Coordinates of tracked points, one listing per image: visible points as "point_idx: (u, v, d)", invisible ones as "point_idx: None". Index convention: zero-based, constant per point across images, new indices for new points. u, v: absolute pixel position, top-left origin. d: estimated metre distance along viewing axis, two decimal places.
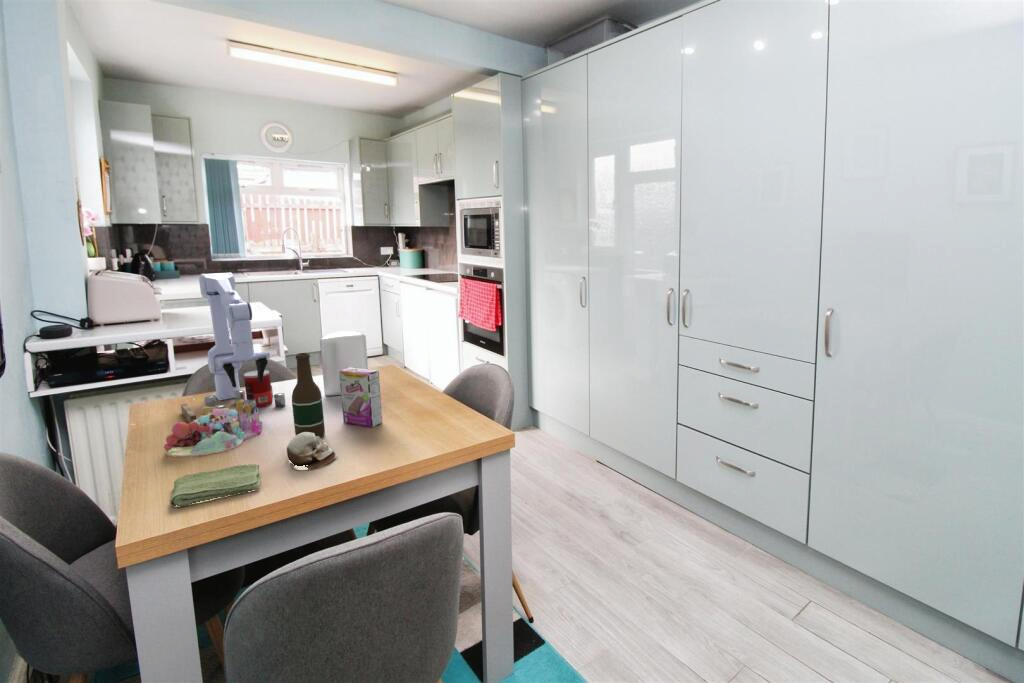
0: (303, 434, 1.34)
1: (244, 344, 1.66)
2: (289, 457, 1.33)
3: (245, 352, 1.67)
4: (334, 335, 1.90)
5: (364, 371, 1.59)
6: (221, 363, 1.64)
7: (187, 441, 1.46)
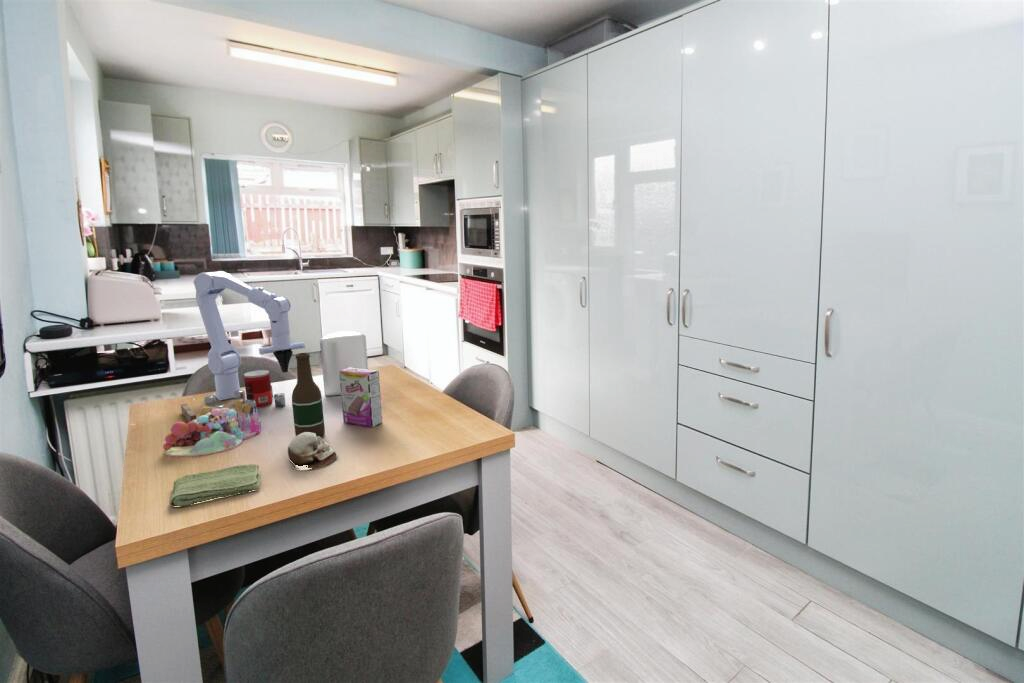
0: (304, 434, 1.34)
1: (282, 335, 1.83)
2: (290, 457, 1.33)
3: (283, 342, 1.83)
4: (334, 335, 1.90)
5: (364, 371, 1.59)
6: (262, 352, 1.81)
7: (186, 441, 1.46)
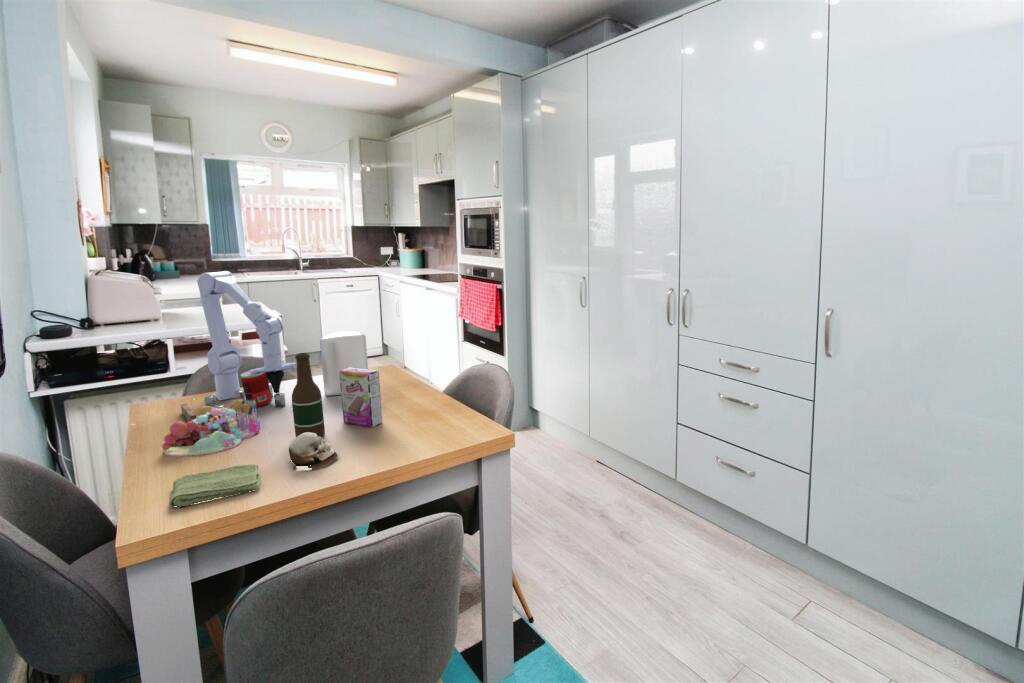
0: (305, 434, 1.33)
1: (274, 356, 1.82)
2: (291, 457, 1.32)
3: (274, 363, 1.82)
4: (334, 335, 1.90)
5: (364, 371, 1.59)
6: (253, 373, 1.80)
7: (185, 440, 1.47)
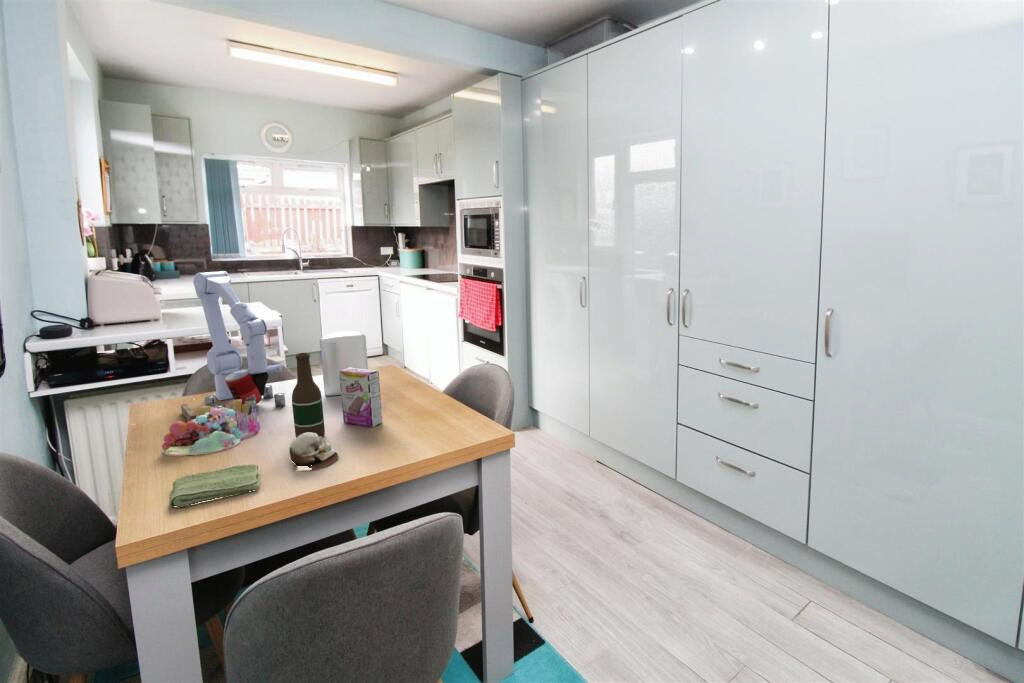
0: (306, 434, 1.33)
1: (258, 358, 1.79)
2: (291, 457, 1.32)
3: (259, 365, 1.79)
4: (334, 335, 1.90)
5: (364, 371, 1.59)
6: None
7: (185, 440, 1.47)
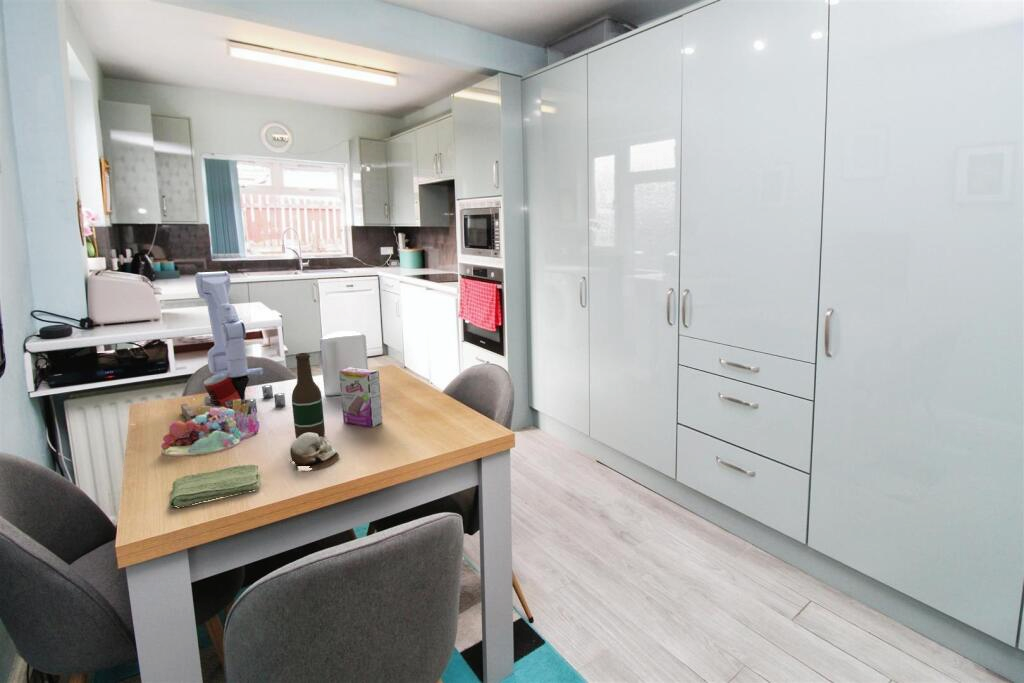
0: (307, 434, 1.33)
1: (238, 361, 1.75)
2: (292, 457, 1.32)
3: (239, 368, 1.75)
4: (334, 335, 1.90)
5: (364, 371, 1.59)
6: (216, 379, 1.73)
7: (184, 440, 1.47)
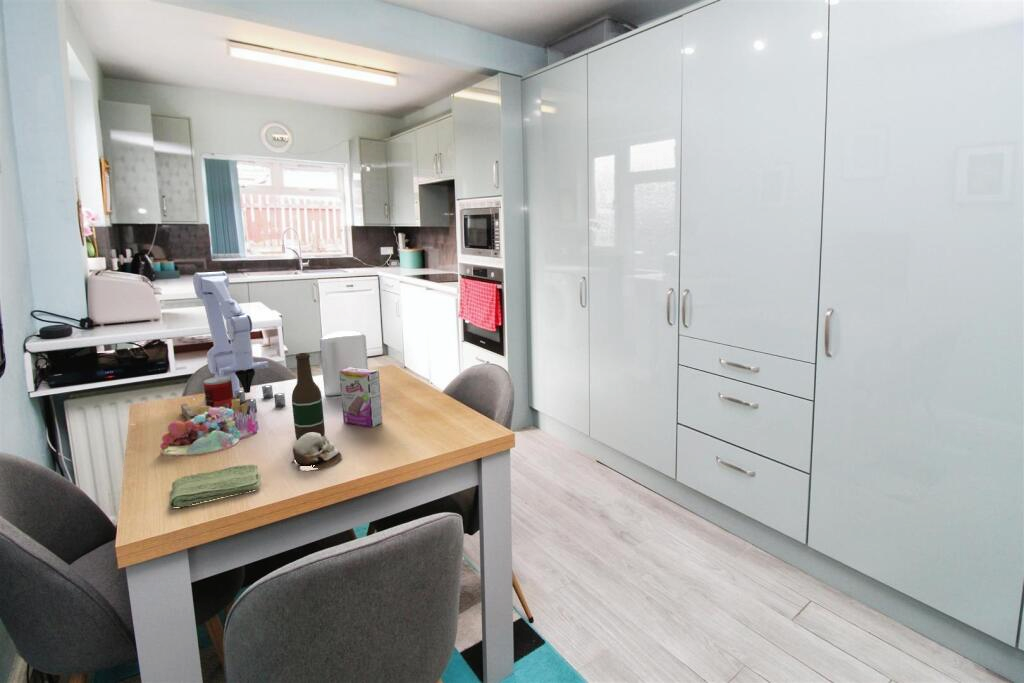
0: (309, 434, 1.33)
1: (244, 354, 1.76)
2: (295, 457, 1.32)
3: (244, 361, 1.76)
4: (334, 335, 1.90)
5: (364, 371, 1.59)
6: (222, 372, 1.74)
7: (183, 440, 1.47)
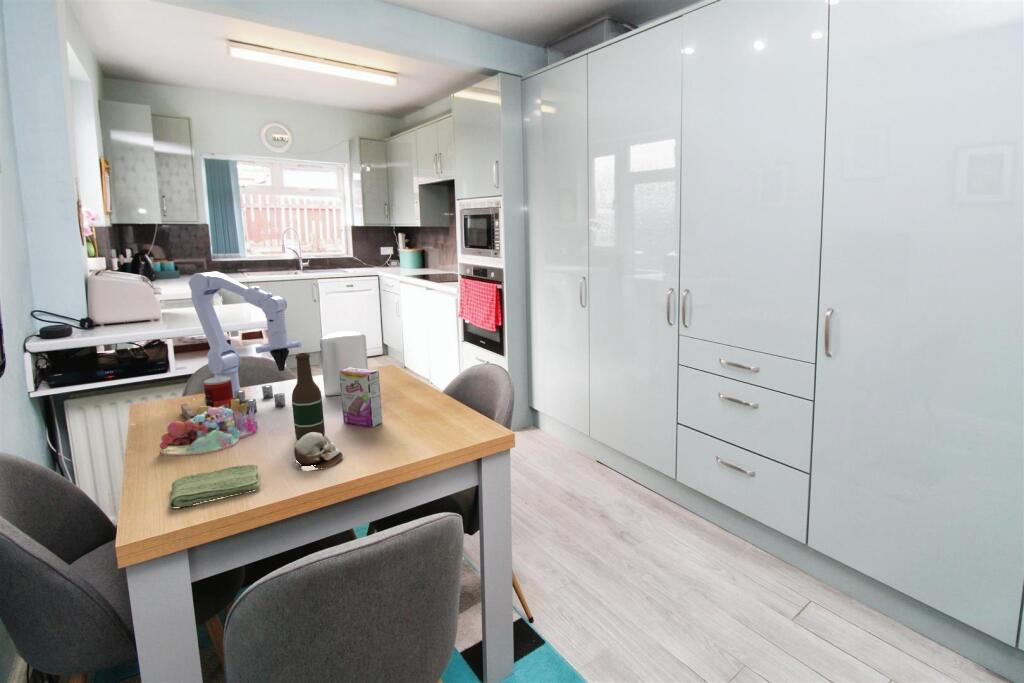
0: (311, 434, 1.33)
1: (279, 334, 1.84)
2: (296, 457, 1.32)
3: (279, 340, 1.84)
4: (334, 335, 1.90)
5: (364, 371, 1.59)
6: (259, 351, 1.82)
7: (183, 440, 1.47)
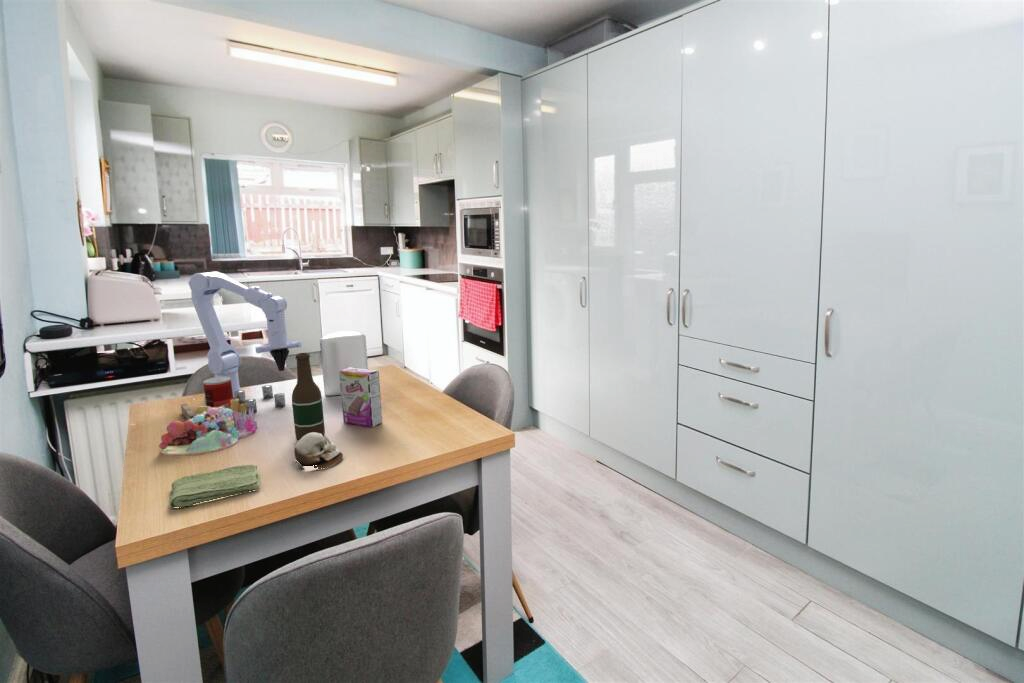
0: (311, 434, 1.33)
1: (279, 334, 1.84)
2: (296, 458, 1.32)
3: (279, 340, 1.84)
4: (334, 335, 1.90)
5: (364, 371, 1.59)
6: (259, 351, 1.82)
7: (182, 440, 1.47)
